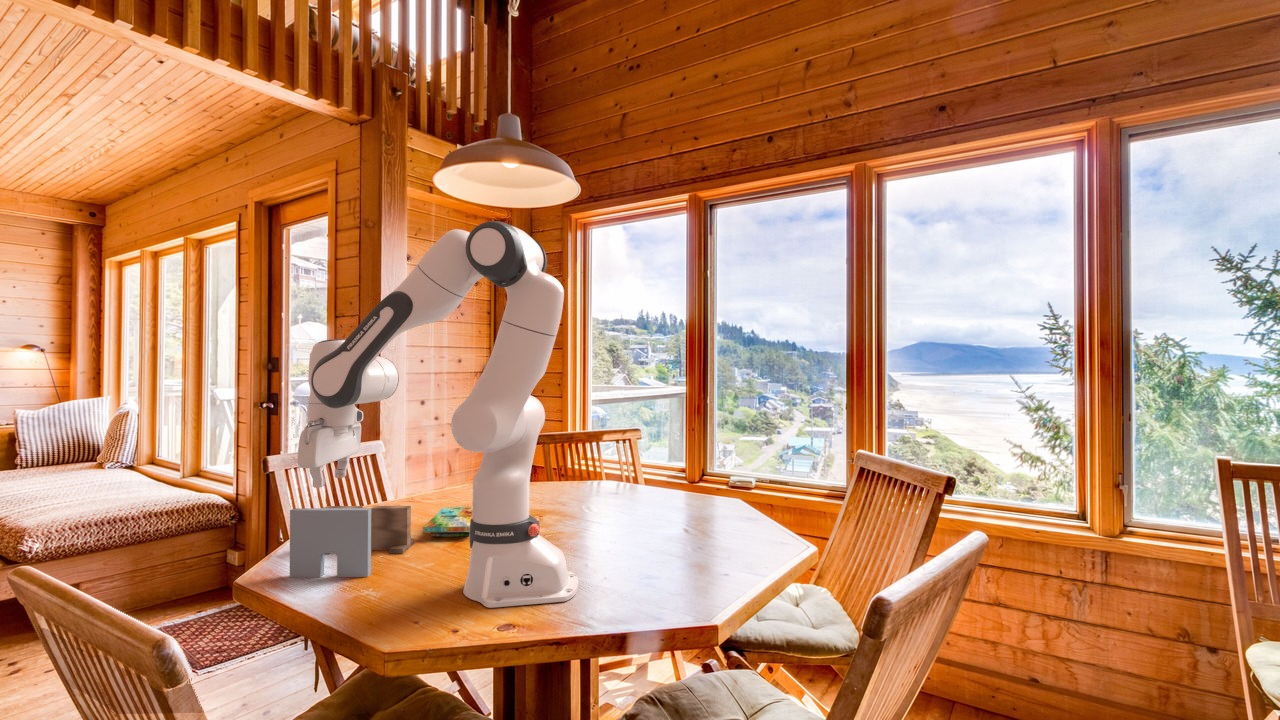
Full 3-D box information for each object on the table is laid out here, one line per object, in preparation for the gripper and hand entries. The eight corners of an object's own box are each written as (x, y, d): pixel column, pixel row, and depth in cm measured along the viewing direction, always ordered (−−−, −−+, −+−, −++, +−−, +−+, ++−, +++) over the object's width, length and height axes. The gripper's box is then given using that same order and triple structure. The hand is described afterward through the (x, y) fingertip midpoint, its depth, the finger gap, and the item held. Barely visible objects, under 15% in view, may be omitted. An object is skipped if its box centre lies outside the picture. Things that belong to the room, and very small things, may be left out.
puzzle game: (485, 504, 170) (470, 523, 150) (485, 520, 170) (470, 541, 150) (443, 504, 169) (423, 523, 149) (443, 521, 169) (423, 542, 149)
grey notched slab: (370, 574, 126) (371, 508, 126) (367, 577, 125) (368, 510, 125) (293, 574, 126) (294, 508, 126) (289, 577, 124) (290, 510, 124)
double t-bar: (414, 543, 147) (414, 503, 147) (402, 553, 139) (403, 511, 139) (332, 543, 147) (332, 503, 147) (315, 554, 139) (316, 511, 139)
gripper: (322, 421, 115) (320, 493, 115) (366, 412, 135) (365, 473, 135) (288, 421, 115) (287, 493, 115) (338, 411, 135) (337, 472, 135)
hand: (330, 482), depth 125 cm, fingers open, 8 cm apart
